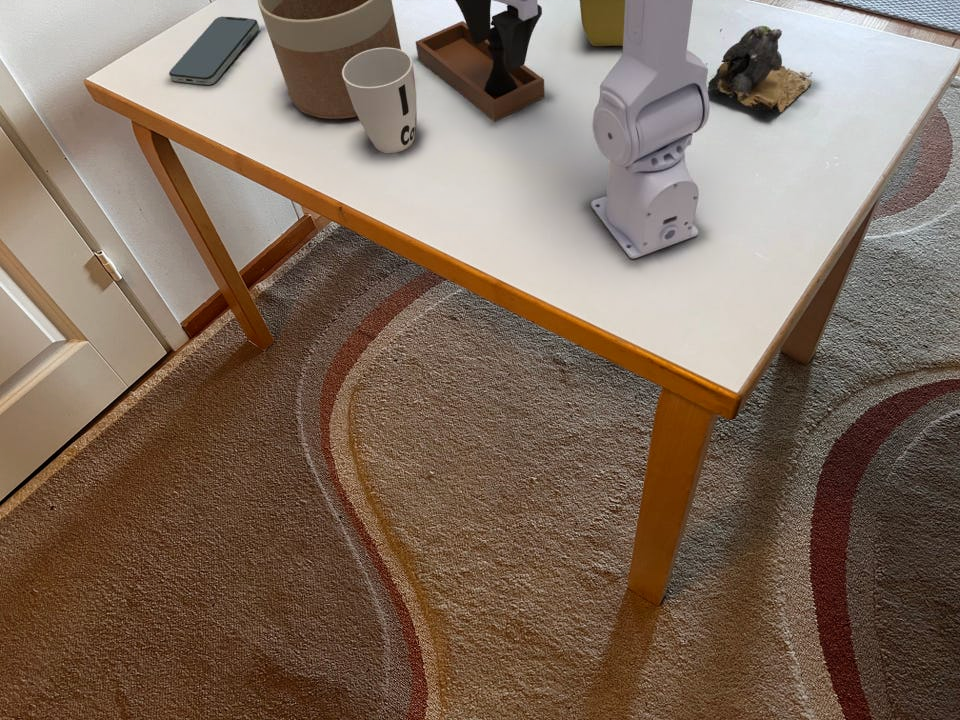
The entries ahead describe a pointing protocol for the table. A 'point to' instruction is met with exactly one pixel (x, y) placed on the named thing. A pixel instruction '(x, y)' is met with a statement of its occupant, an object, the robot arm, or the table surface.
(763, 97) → the figurine
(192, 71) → the smartphone
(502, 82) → the chess piece
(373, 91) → the cup
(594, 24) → the flower pot
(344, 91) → the planter
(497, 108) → the brown rectangular tray
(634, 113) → the robot arm
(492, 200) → the table surface
